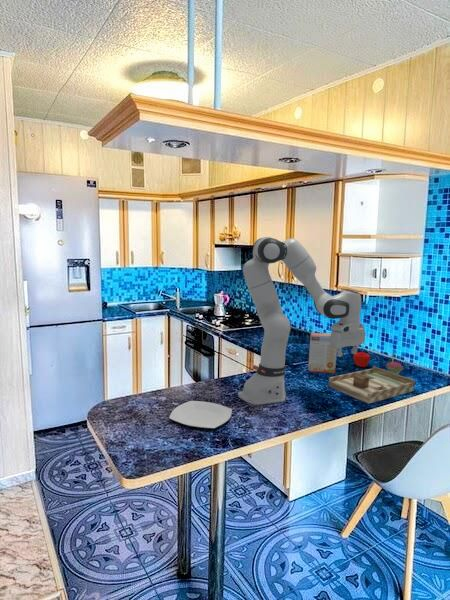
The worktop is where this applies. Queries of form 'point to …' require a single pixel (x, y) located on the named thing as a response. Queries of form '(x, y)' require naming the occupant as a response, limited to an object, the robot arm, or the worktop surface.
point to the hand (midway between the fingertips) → (346, 355)
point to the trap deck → (373, 385)
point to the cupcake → (394, 367)
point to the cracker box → (321, 354)
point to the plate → (201, 414)
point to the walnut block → (361, 381)
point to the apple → (361, 359)
